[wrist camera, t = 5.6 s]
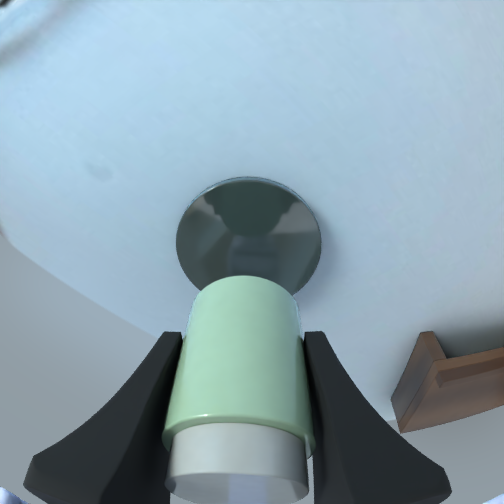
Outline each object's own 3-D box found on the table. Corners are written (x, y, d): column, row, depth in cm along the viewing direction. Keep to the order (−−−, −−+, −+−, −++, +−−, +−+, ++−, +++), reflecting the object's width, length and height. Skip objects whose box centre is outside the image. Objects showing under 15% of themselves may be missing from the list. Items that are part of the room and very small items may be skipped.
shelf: (490, 377, 26) (507, 411, 22) (390, 399, 26) (402, 443, 22) (527, 315, 21) (552, 350, 17) (420, 332, 22) (443, 382, 17)
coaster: (217, 316, 21) (216, 322, 20) (152, 211, 17) (149, 216, 17) (336, 276, 19) (337, 282, 19) (290, 153, 16) (291, 155, 15)
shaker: (220, 364, 14) (205, 513, 8) (170, 295, 12) (117, 467, 6) (313, 339, 13) (335, 500, 7) (276, 258, 11) (290, 457, 5)
